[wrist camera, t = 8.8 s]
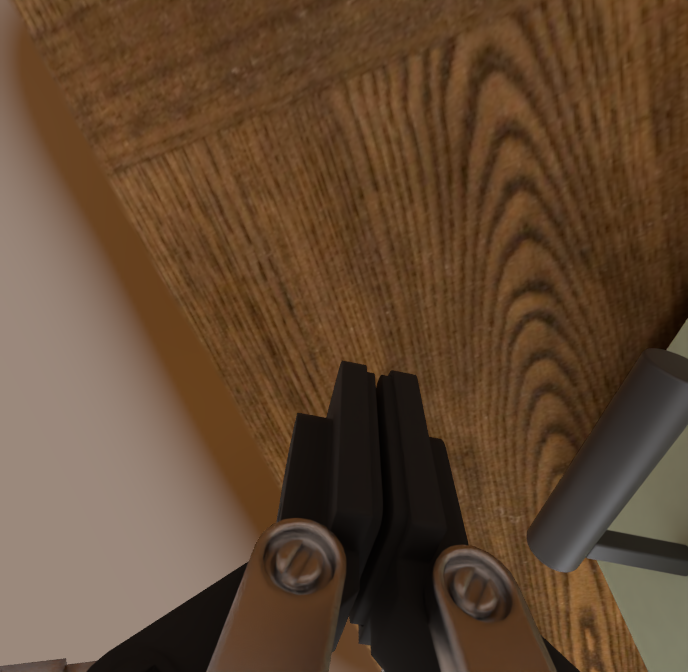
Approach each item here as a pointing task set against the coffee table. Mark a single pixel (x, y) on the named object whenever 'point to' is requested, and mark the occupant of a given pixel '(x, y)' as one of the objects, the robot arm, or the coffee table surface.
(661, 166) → the coffee table surface
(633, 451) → the green drawer
